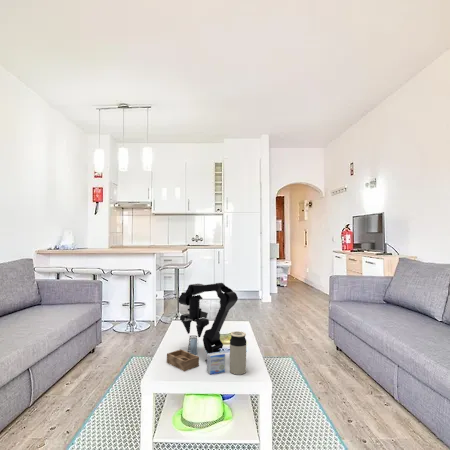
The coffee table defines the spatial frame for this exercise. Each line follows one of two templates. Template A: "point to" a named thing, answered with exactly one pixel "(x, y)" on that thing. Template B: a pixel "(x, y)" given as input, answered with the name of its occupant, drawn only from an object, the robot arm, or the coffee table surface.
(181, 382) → the coffee table surface
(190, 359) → the caddy
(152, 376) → the coffee table surface
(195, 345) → the peg
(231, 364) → the travel mug
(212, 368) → the medicine box
